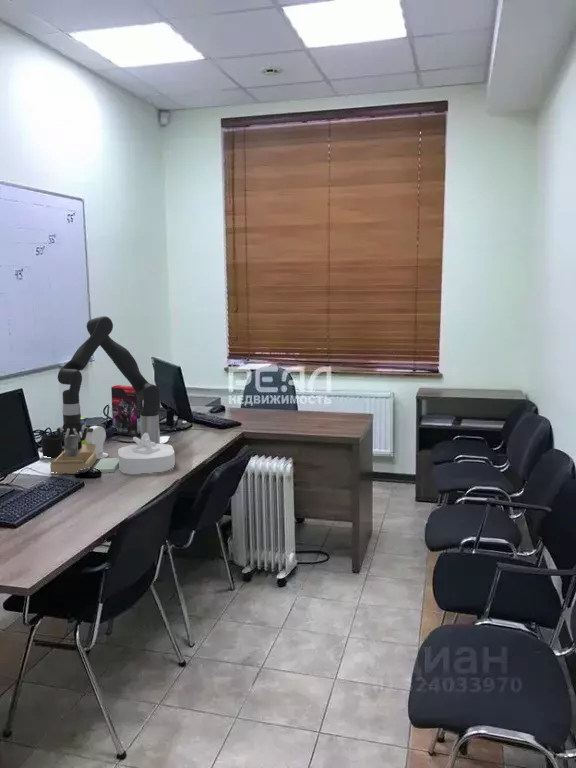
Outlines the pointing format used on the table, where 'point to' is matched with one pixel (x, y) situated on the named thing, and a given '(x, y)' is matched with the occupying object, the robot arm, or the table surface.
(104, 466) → the board
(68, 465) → the carton
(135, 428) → the graphics card box
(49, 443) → the pen holder
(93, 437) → the white security camera
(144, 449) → the tissue box
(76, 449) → the block
